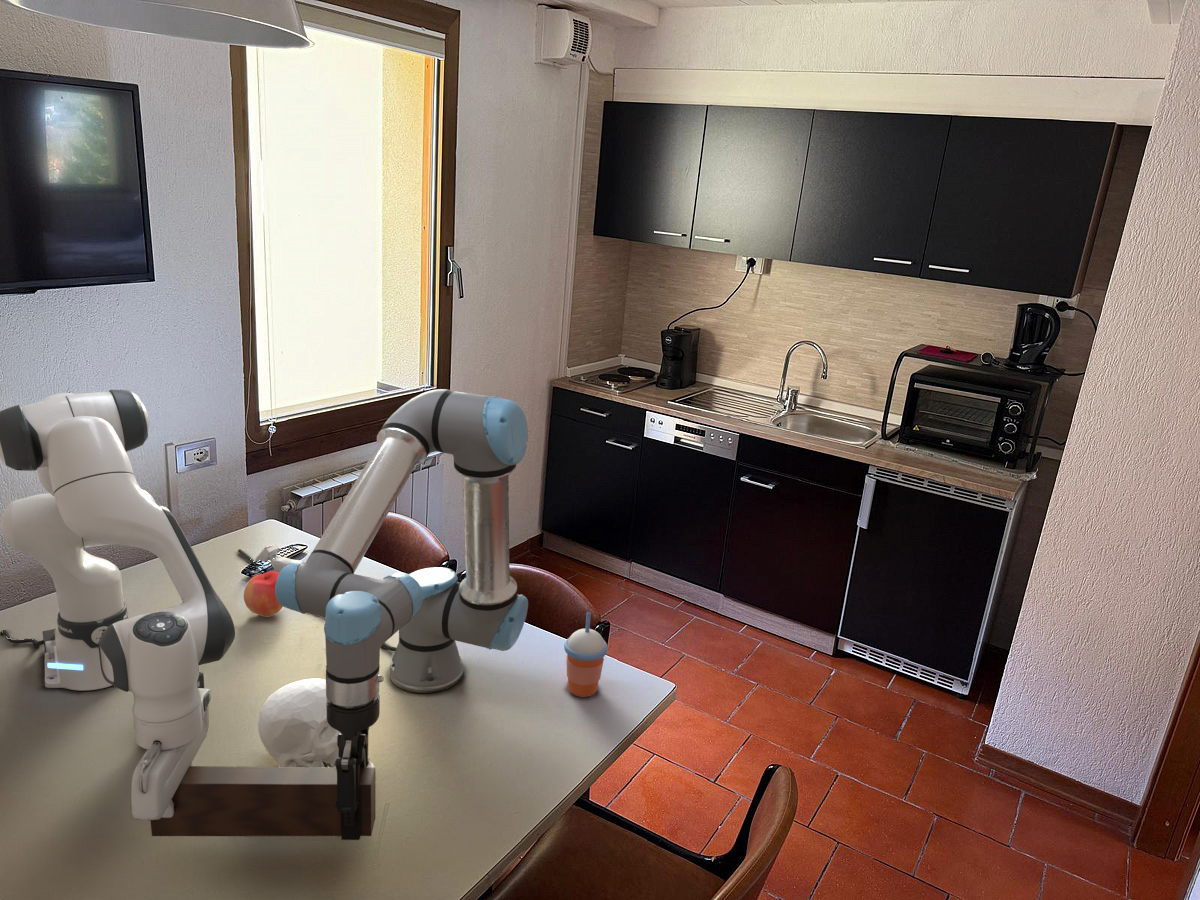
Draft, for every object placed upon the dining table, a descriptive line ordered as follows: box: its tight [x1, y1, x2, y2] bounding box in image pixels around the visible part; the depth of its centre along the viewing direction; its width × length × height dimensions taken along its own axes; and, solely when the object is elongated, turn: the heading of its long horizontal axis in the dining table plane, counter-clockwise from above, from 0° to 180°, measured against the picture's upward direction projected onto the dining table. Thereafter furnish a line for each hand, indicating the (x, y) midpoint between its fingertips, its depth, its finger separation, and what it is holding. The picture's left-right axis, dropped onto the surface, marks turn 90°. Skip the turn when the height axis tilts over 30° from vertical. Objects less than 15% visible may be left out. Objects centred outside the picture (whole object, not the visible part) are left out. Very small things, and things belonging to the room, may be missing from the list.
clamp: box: [254, 544, 304, 573], centre depth 219 cm, size 20×4×7 cm, turn 62°
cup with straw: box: [563, 611, 609, 698], centre depth 179 cm, size 9×9×18 cm
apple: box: [243, 570, 283, 618], centre depth 199 cm, size 10×10×10 cm
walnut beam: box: [149, 765, 377, 837], centre depth 129 cm, size 32×4×9 cm, turn 95°
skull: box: [257, 677, 375, 768], centre depth 150 cm, size 13×22×16 cm, turn 73°
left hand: (175, 801), depth 128 cm, fingers closed on walnut beam, 4 cm apart
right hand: (353, 826), depth 132 cm, fingers closed on walnut beam, 4 cm apart
